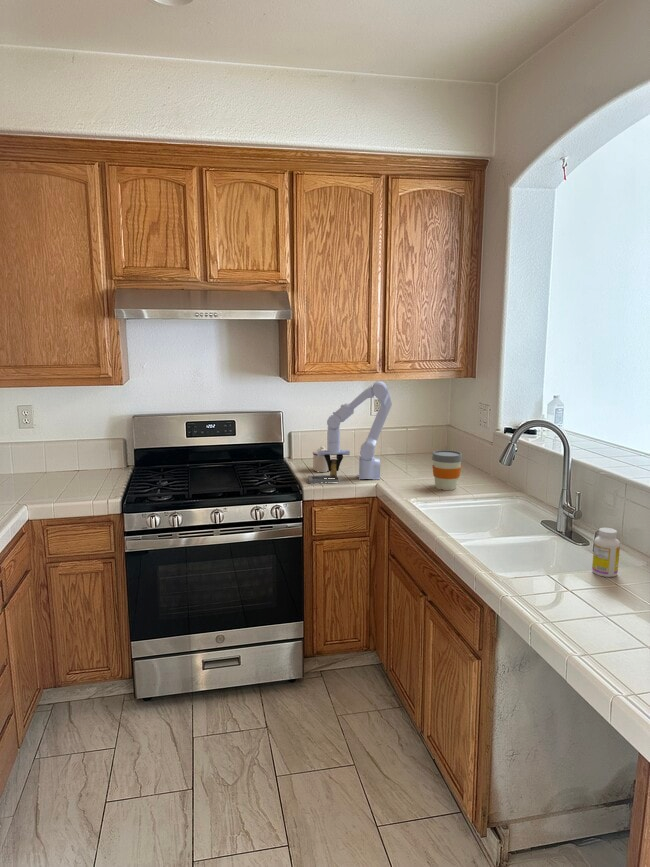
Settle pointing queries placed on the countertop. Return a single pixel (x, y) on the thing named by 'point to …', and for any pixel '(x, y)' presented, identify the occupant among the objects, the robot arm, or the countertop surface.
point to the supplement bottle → (606, 553)
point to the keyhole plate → (321, 479)
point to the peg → (333, 467)
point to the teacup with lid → (320, 461)
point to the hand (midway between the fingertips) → (333, 470)
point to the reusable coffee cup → (446, 468)
